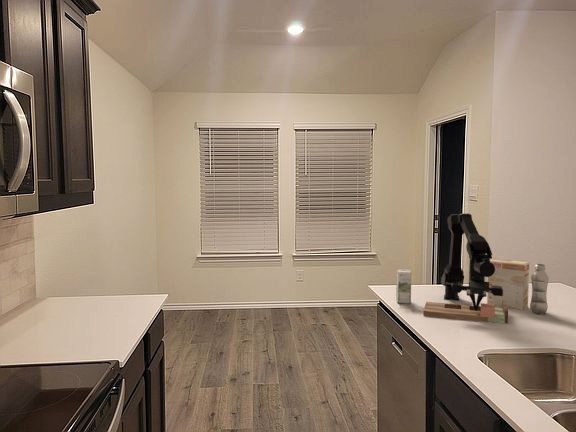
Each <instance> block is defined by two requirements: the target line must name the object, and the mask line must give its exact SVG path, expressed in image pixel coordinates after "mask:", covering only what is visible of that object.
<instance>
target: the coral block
mask: <svg viewBox="0 0 576 432" xmlns="http://www.w3.org/2000/svg"><path fill="white" fill-rule="evenodd" d="M480 306H481V317H490V318H495V307H496V305H495V304H487V303H483V302H480Z"/></svg>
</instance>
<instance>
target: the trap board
mask: <svg viewBox="0 0 576 432" xmlns="http://www.w3.org/2000/svg"><path fill="white" fill-rule="evenodd" d="M423 307H424V308H423V312H422V314H423V317H432V318H433V317H434V318H445V319H456V320H467V321H477V322H487V323H488V322H489V323H497V324H498V323H499V324H508V320H509V310H508V307H507V306H506V303H505V301H502V306H501V307H496V306H495V318H490V317H481V305H479V307H478V309H477V311H475V309H474V306H473V304H472V305H470V304H469V305H468V304H460V303H457V304H455V303H447V302H446V303H445V302H432V301H426V302H425V304H424V306H423Z"/></svg>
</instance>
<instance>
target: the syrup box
mask: <svg viewBox="0 0 576 432" xmlns="http://www.w3.org/2000/svg"><path fill="white" fill-rule="evenodd" d="M395 289H396V292H395V293H396V294H395V295H396V299H395V300H396V302H397V304H405V305H406V304H407V305H408V304H410V305H411V303H412V302H411V301H412V299H411V298H412V297H411V296H412V272H411V270H410V269H396V288H395Z"/></svg>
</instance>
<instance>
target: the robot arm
mask: <svg viewBox="0 0 576 432" xmlns="http://www.w3.org/2000/svg"><path fill="white" fill-rule="evenodd" d="M447 227H448V229H449V231H450V232H451V233H450V234H451V235H450V244H449V245H450V246H449V248H450V249H449V260H448V261H449V262H448V263H447V265H446V266H445V267H444V272H443V274H442V276H441V279H440V284H441V285H442V286H444V295H443V299H444V300H453V301H459V300H460V295H459V293H461V292H462V291H465V292H466V296H469V298H470V300H471V302H472V306H474V309H475V311H477V309H478V307H479V306H480V305H481V303H482V302H481V301H482V300H483V298H484V297H485V298H487V293H488V292H490V293H492V294H493V295H494V296H503V289H502V287H501V286H493V285H491V288H489V282H488V281H485V280H486V278H488V277H490V276H492V275H493V274H494V272H495V267H494V265H493V264H492V263H491V262H490V260H492V259H493V257H492V256H493V252H492V250H491V247H490V245H489V242H488V241H487V240H486V238H485V237H484V236H483V235H480V233H479V232H478V230H477V227H476V225H475V223H474V221H473V216H472V214H471V213H457V214H455V213H452V214H450V215H449V216H447ZM463 235H465V237H466V241H467V242H466V248H465V249H466V252H467V254H468V258H469V262H468V263H469V264H468V265H469V267H468V268H469V269H468V270H469V271H468V272H469V273H468V285H464V281H465V275H464V273H465V272H464V270H463V268H462V267H461V255H462V247H463V244H462V243H463ZM476 295H477V297H476Z"/></svg>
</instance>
